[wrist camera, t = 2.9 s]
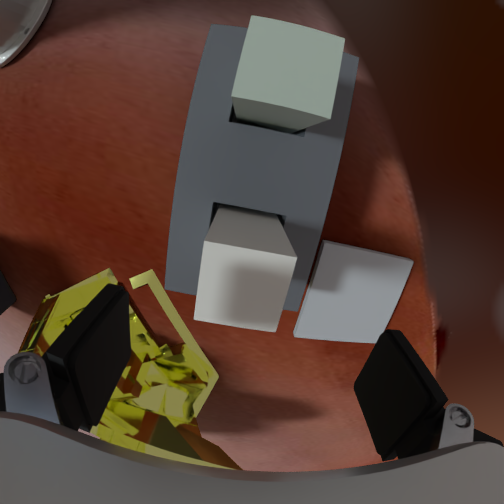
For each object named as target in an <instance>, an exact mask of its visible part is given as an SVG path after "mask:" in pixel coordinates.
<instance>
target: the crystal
mask: <svg viewBox="0 0 504 504" xmlns="http://www.w3.org/2000/svg"><path fill="white" fill-rule="evenodd" d="M130 282H131V284H132V287H133V289H135V288H137V287H140V286H142V285H145V284H147V283H148V284H149V286H150V288H151V290H152V291H153V293H154V295H155V296H156V298H157V300H158V301H159V303H160V305H161V306H162V308H163V309H164V311H165V313H166V314H167V316H168V317H169V319H170V320H171V322H172V324H173V325H174V327H175V328H176V330H177V331H178V333H179V334H180V336H181V337H182V339H183V340H184V343H181V344H177V345H174V346H170V347H168V345H167V344H164V345H159V344H158V342H157V341H156V339H155V338H154V336H153V335H152V334H151V332H150V331H149V329H148V328H147V326H146V325H145V323H144V322H143V320H142V319H141V317H140V316H139V314H138V313H137V311H136V310H135V308H134V306H133V305H132V303H131V302H130V300H129V318H130V338H131V356H130V359H129V361H128V363H127V365H126V367H125V369H124V371H123V373H122V375H121V377H120V379H119V382H118V384H117V386H116V388H115V390H114V392H113V394H112V396H111V398H110V400H109V402H108V405H107V407H106V409H105V411H104V413H103V415H102V418H101V420H100V422H99V424H98V425H97V426H96V427H95V426H92V429H91V431H90V432H91V433H93V434H94V435H96V436H98V437H100V440H103V441H106V442H109V443H112V444H115V445H118V446H121V447H124V448H127V449H131V450H134V451H138V452H142V453H145V454H149V455H153V456H157V457H161V458H165V459H170V460H175V461H179V462H184V463H190V464H196V465H202V466H209V467H216V468H224V469H234V470H243V469H241V468H240V467H239V466H238V465H237V464H236V463H235V462H234V461H233V460H232V459H231V458H230V457H229V456H228V455H227V454H226V453H225V452H224V451H223V450H222V449H221V448H220V447H219V446H217V445H215V444H213V443H211V442H210V441H208V440H206V439H204V438H202V437H201V434H200V431H199V428H198V427H197V426H198V424H197V421H196V417H197V415H198V413H199V412H200V410H201V408H202V406H203V405H204V403H205V401H206V399H207V397H208V396H209V394H210V392H211V390H212V389H213V387H214V385H215V383H216V381H217V379H218V378H219V375H218V374H217V372H216V371H215V369H214V368H213V366H212V365H211V363H210V362H209V361H208V359H207V358H206V356H205V355H204V353H203V352H202V350H201V349H200V347H199V346H198V344H197V343H196V341H195V340H194V338H193V336H192V335H191V333H190V332H189V330H188V329H187V327H186V325H185V324H184V322H183V321H182V319H181V317H180V316H179V314H178V313H177V311H176V309H175V308H174V306H173V304H172V303H171V301H170V299H169V298H168V296H167V294H166V292H165V291H164V289H163V287H162V286H161V284H160V282H159V280H158V278H157V277H156V275H155V273H154V271H153V270H149V271H147V272H145V273H142V274H140V275H138V276H135V277H133V278H131V279H130ZM108 283H111V284H115V285H119V286H121V285H120V284H119V282H117V280H116V278H115V276H114V275H113V273H112V271H111V269H110V268H108V269H106V270H104V271H102V272H100V273H96V274H94V275H92V276H90V277H88V278H86V279H84V280H82V281H80V282H78V283H76V284H74V285H72V286H70V287H68V288H66V289H64V290H62V291H60V292H58V293H56V294H54V295H51V296H50V294H48V295H47V296H45V297H46V298H45V299H43V300H42V302H41V304H40V306H39V308H38V310H37V312H36V314H35V316H34V318H33V320H32V322H31V324H30V326H29V328H28V331H27V333H26V335H25V337H24V340H23V342H22V344H21V347H20V349H19V352H18V353H21V352H31V353H35V354H37V355H39V356H40V357H42V355H43V354H44V353H45V352H46V351H47V349H48V348H49V347H50V346H51V345H52V343H53V342H54V341H55V340H56V339H57V337H58V336H59V335H60V334H61V333H62V332H63V331H64V329H65V328H66V327H67V326H68V325H69V324H70V323H71V321H72V320H73V319H74V318H75V317H76V316H77V315H78V314H79V313H80V312H81V311H82V310H83V309H84V308H85V307H86V306H87V305H88V304H89V303H90V301H91V300H92V299H93V298H94V297H95V296H96V295H97V294H98V293H99V292H100V291H101V290H102V289H103V288H104V287H105V286H106V285H107V284H108Z"/></svg>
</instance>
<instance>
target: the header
mask: <svg viewBox="0 0 504 504" xmlns="http://www.w3.org/2000/svg"><path fill="white" fill-rule="evenodd" d="M247 30H248V28H244V27H236V26H228V25H219V24H211V27H210V30H209V33H208V36H207V40H206V43H205V47H204V50H203V54H202V58H201V61H200V65H199V69H198V73H197V77H196V81H195V85H194V89H193V94H192V98H191V102H190V107H189V112H188V116H187V121H186V126H185V131H184V137H183V142H182V147H181V153H180V159H179V165H178V171H177V178H176V184H175V191H174V198H173V206H172V214H171V222H170V231H169V241H168V251H167V263H166V275H165V289H166V290H171V291H176V292H181V293H187V294H192V295H197V289H198V281H199V274H200V266H201V259H202V252H203V245H204V240H205V238H206V235H207V233H208V231H209V229H210V226H211V224H212V222H213V219H214V217H215V215H216V213H217V210H218V208H219V206H220V204H221V203H222V204H228V205H234V206H239V207H244V208H250V209H255V210H260V211H265V212H270V213H275V214H276V215H277V217H278V219H279V221H280V223H281V225H282V227H283V229H284V231H285V233H286V235H287V237H288V239H289V241H290V243H291V246H292V248H293V250H294V252H295V254H296V256H297V260H296V264H295V268H294V271H293V275H292V278H291V282H290V285H289V289H288V292H287V296H286V299H285V302H284V306H283V310H291V311H298V309H299V306H300V303H301V299H302V296H303V293H304V290H305V287H306V284H307V280H308V277H309V274H310V271H311V267H312V264H313V260H314V257H315V254H316V250H317V247H318V243H319V240H320V236H321V232H322V229H323V225H324V221H325V218H326V214H327V210H328V206H329V202H330V198H331V194H332V190H333V186H334V182H335V178H336V174H337V170H338V165H339V161H340V156H341V152H342V147H343V143H344V138H345V133H346V128H347V123H348V118H349V113H350V108H351V103H352V97H353V92H354V86H355V80H356V74H357V67H358V61H359V58H358V57H356V56H353V55H350V54H348V53H345V52H343V54H342V60H341V66H340V72H339V77H338V83H337V88H336V93H335V99H334V104H333V109H332V114H331V119H329V120H326V121H324V122H321V123H318V124H315V125H312V126H310V127H307V128H304V129H301V130H299V131H296V132H293V133H291V134H290V133H286V132H281V131H277V130H272V129H268V128H263V127H258V126H253V125H248V124H242V123H237V119H236V114H235V110H234V106H233V102H232V98H231V95H232V90H233V86H234V82H235V77H236V73H237V69H238V65H239V61H240V57H241V53H242V49H243V45H244V41H245V38H246V34H247Z"/></svg>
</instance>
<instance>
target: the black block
mask: <svg viewBox="0 0 504 504" xmlns="http://www.w3.org/2000/svg"><path fill="white" fill-rule="evenodd" d="M15 301H16V297H15V295H14V294H13V292H12V290H11V289H10V287H9V285H8V283H7V281H6V280H5V278H4V276H3V274H2V272H1V270H0V315H1V314H2V313H3V312H4V311H5V310H7V309H8V308H9V307H10V306H11V305H12V304H13V303H14V302H15Z"/></svg>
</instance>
